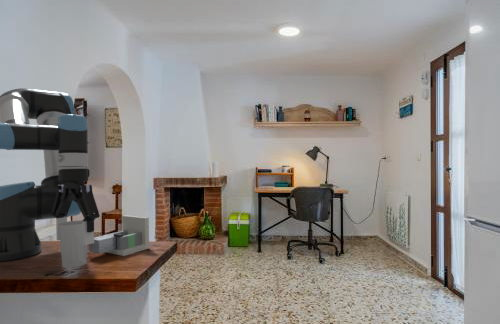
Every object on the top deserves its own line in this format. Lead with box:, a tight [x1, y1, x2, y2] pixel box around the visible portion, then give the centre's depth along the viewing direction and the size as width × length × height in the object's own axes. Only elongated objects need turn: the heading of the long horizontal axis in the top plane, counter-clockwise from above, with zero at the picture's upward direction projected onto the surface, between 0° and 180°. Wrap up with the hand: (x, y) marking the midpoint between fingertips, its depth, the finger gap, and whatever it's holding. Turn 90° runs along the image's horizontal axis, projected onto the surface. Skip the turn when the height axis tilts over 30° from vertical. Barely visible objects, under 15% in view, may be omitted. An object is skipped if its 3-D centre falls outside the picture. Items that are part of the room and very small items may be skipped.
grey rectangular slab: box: [88, 233, 123, 255], centre depth 97 cm, size 8×8×5 cm
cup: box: [58, 219, 89, 269], centre depth 89 cm, size 8×8×12 cm
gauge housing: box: [102, 214, 150, 257], centre depth 104 cm, size 12×10×10 cm
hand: (74, 241), depth 89 cm, fingers open, 13 cm apart
